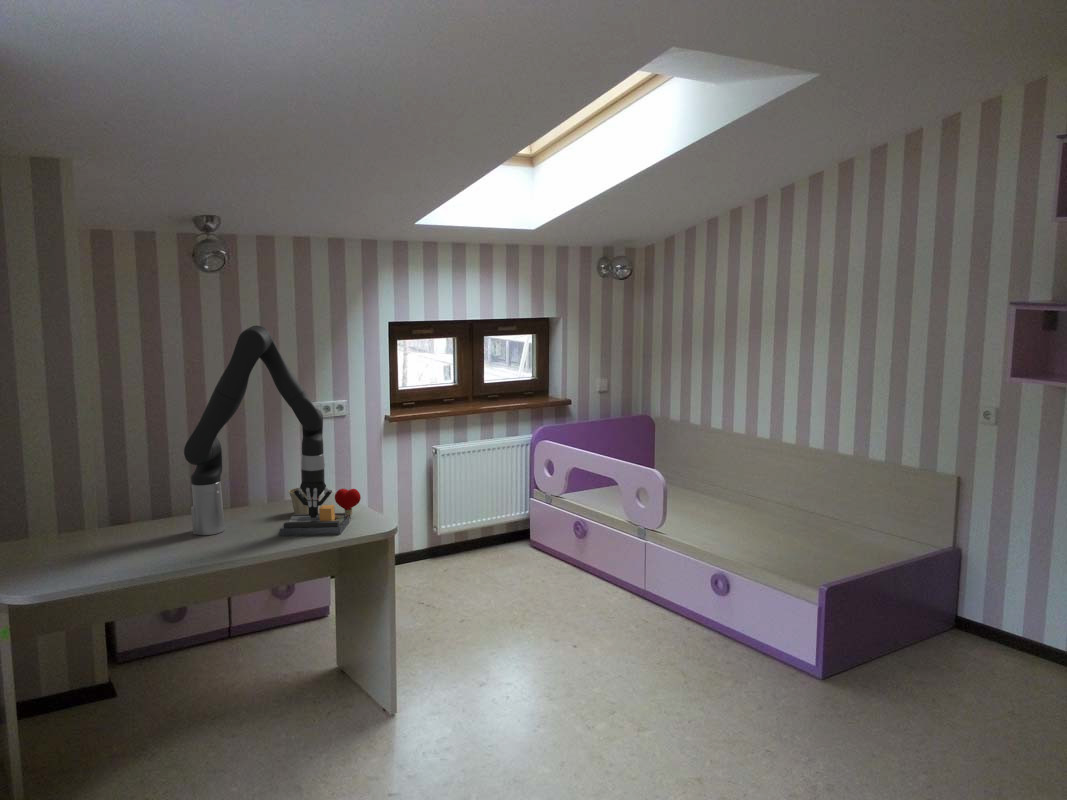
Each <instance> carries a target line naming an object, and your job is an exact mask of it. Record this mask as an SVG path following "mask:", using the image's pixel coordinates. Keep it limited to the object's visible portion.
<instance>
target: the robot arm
mask: <svg viewBox="0 0 1067 800" xmlns="http://www.w3.org/2000/svg"><path fill="white" fill-rule="evenodd" d="M259 359H260V360H261V361H262V362H263V364H264V365H265V367H266V368H267V370H268V371H269V372H268V373H269V374H270V376H271V378H272V380H273V383H274V385H275V387H276V389H277V390H278V391H277V392H278V393H279V394H280V395H281V397H282V398H283V400H284V401H285V402H286V404H287V405H288V406H289V407H290V409H291V410H292V412H293V413H294V415H295V417H296V419H297V420H298V422H299V423H300V425H301V426H302V427H301V430H302V440H301V461H300V463H301V466H300V468H301V469H300V471H301V472H300V473H301V478H300V479H301V483H300V484H299V487H298V488H299V489H297V490H295V491H294V494H295V495H296V496H297V497H298V499H299V500H300V501H301V502H302V504H303V505H307V506H308V507H309V516H311V518H315V517H316V516H317V515H318V513H319V506H320V507H321V506H322V505H324V504H325V502H326V501H327V500H328V498H329V497H330V496H331V494H332V493H333V490H332V489H329V488H327V485H326V483H325V482H326V481H325V456H324V440H323V439H324V438H323V431H324V415H323V413H322V411H321V410H320V409H319V408H316V407H315V405H314V404H313V402H312V400H310V398H309V395H308V393H307V392H306V391H305V389H304V387H303V386H302V385H301V383H300V382H299V381H298V379H297V378H296V377H295V375H294V373H293V372H292V371H291V369H290V367H289V366H288V364H287V363H286V361H285V360H284V358H283V356H282V354H281V353H280V350H279V348H278V347H277V344H276V343H275V341H274V339H273V337H272V335H271V333H270V331H269V330H268V329H267V328H266V327H264V326H261V325H252V326H250V327H248V328H246V329H244V330H243V331H242V332H241V333H240V334H239V336H238V337H237V341H236V344H235V346H234V349H233V353H232V355H231V358H230V360H229V363H228V364H227V366H226V368H225V369H224V371H223V373H222V375H221V376H220V378H219V380H218V381H217V384H216V386H215V388H214V390H213V391H212V393H211V396H210V398H209V401H208V402H207V405H206V407H205V409H204V411H203V413H202V415H201V418H200V420H199V422H198V424H197V425H196V427H195V429H194V430H193V432H192V433H191V435H190V436H189V438H188V439H187V441H186V442H185V444H184V445H185V446H184V449H183V454H184V458H185V461H187V463H189V464H191V465H192V466H193V465H194V466H196V468H195V470H194V472H193V473H192V475H191V477H190V482H191V490H192V491H191V492H192V494H191V495H192V504H193V505H192V506H191V507H190V512H191V513H190V514H191V523H192V534H193V535H198V536H210V535H217V534H220V533H222V532H224V531H225V519H224V508H223V507H224V506H223V494H222V482H221V480H222V479H221V476H222V474H223V450H222V445H221V442H220V440H219V439H218V438H217V436H218V435H219V433H220V431H221V430H222V429H223V428H224V426H226V424H227V423H228V422H229V421H230V420H231V419H232V417H233V416H234V415H235V414H236V412H237V411H238V409H239V407H240V406H241V404H242V401H243V399H244V397H245V394H246V391H247V389H248V385H249V381H250V380H249V378H250V376H251V373H252V371H253V369H254V367H255V366H256V363H257V362H258V361H259ZM302 491H303V492H304V494H305V495H306V496H307V499H306V498H305V496H304V495H303V494H302V493H303V492H302ZM322 494H323V496H322V498H321V499H320V496H321V495H322Z"/></svg>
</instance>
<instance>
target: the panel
mask: <svg viewBox="0 0 1067 800" xmlns="http://www.w3.org/2000/svg"><path fill="white" fill-rule="evenodd" d="M331 521H339V525H338V526H329V527H289V528H284V524H283V525H282V526H281V527H280V528H279V535H280V536H281V537H287V536H288V537H291V536H292V537H295V536H297V537H298V535H299V536H326V535H327V536H332V535H333V536H334V535H335V536H336V535H338V536H339V535H342V533H343V532H344V530H346V528H347V527H348V526H349V524H350V516H349V515H348V516H347V515H346V517H345V518H344V515H335V520H326V521H320V516H316V517H315V518H311V516H292V515H291V517H290V518H289V519H288V520H287V521H285V523H291V522H331Z"/></svg>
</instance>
